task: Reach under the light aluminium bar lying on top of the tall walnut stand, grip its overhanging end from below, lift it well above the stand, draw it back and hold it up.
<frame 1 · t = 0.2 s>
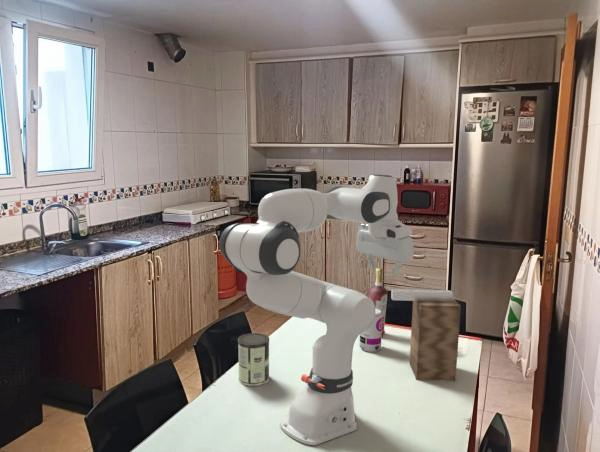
hand: (384, 270, 154), 39 cm above the table, tool pointing down, fingers open, 8 cm apart
aluminium bar: (421, 299, 168), point 26 cm above the table, touching walnut stand
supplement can: (370, 348, 192), on the table
coffee can: (253, 379, 166), on the table
liquor: (376, 335, 206), on the table
walnut stand: (431, 372, 173), on the table
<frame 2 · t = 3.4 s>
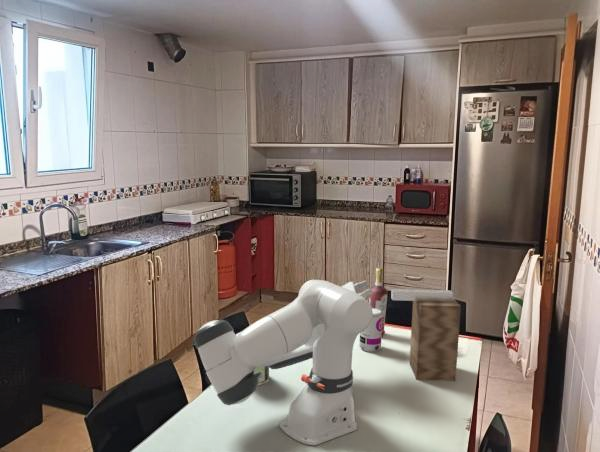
hand: (369, 286, 168), 30 cm above the table, tool pointing upward, fingers open, 8 cm apart
nothing on the table moved.
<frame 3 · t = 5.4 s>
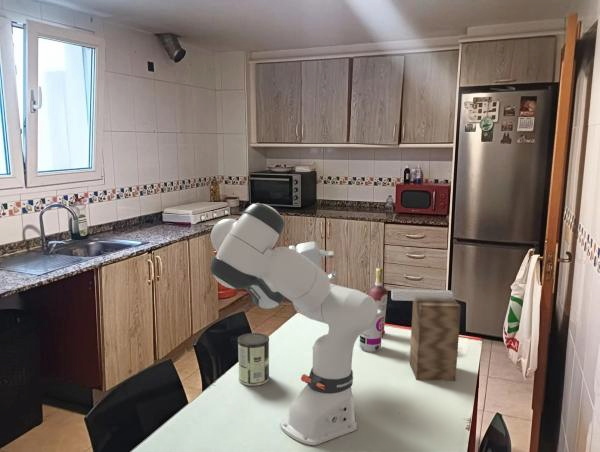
hand: (335, 264, 166), 38 cm above the table, tool horizontal, fingers open, 8 cm apart
nothing on the table moved.
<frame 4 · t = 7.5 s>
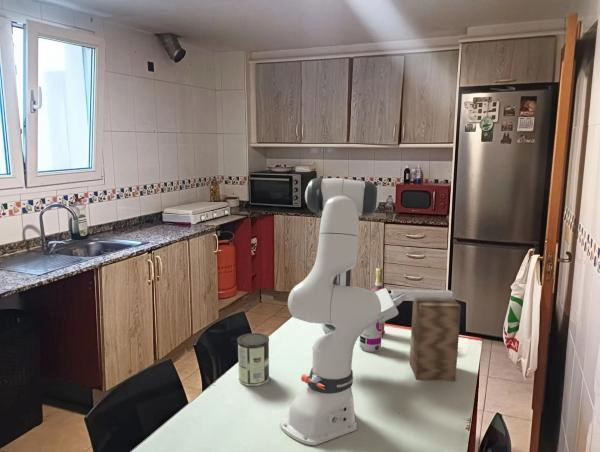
hand: (404, 293, 168), 28 cm above the table, tool pointing upward, fingers closed on aluminium bar, 3 cm apart
aluminium bar: (421, 299, 168), point 26 cm above the table, touching gripper, walnut stand
everything else where it was.
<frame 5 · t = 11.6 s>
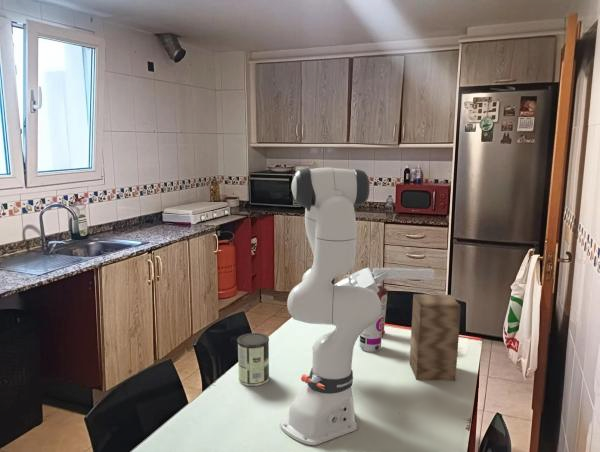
hand: (386, 272, 167), 35 cm above the table, tool pointing upward, fingers closed on aluminium bar, 3 cm apart
aluminium bar: (403, 278, 167), point 33 cm above the table, touching gripper
everything else where it was.
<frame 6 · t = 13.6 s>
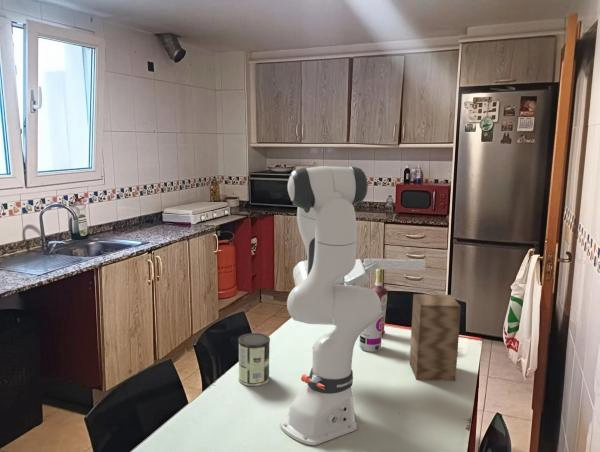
hand: (377, 262, 167), 38 cm above the table, tool pointing upward, fingers closed on aluminium bar, 3 cm apart
aluminium bar: (394, 268, 167), point 37 cm above the table, touching gripper
everything else where it was.
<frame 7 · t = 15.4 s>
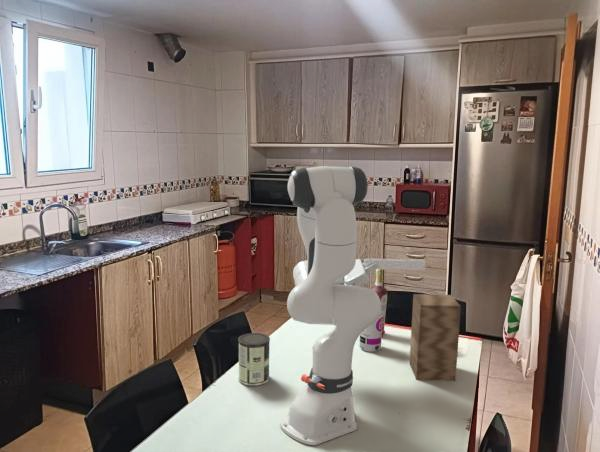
hand: (377, 262, 167), 38 cm above the table, tool pointing upward, fingers closed on aluminium bar, 3 cm apart
aluminium bar: (394, 268, 167), point 37 cm above the table, touching gripper
everything else where it was.
at the end: the gripper is holding aluminium bar; aluminium bar touching gripper; aluminium bar point 36.5 cm above the table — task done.
